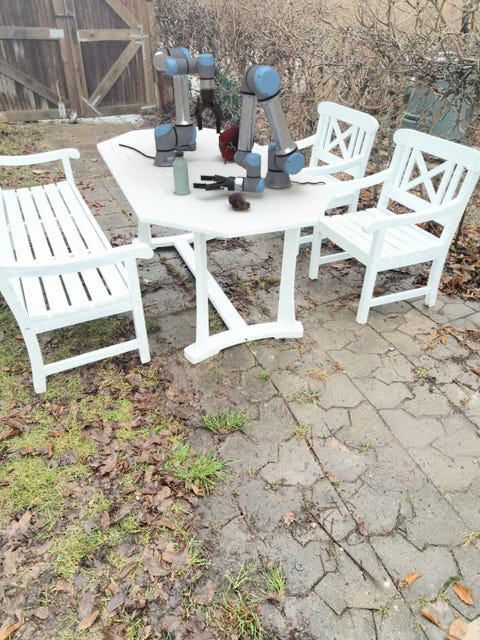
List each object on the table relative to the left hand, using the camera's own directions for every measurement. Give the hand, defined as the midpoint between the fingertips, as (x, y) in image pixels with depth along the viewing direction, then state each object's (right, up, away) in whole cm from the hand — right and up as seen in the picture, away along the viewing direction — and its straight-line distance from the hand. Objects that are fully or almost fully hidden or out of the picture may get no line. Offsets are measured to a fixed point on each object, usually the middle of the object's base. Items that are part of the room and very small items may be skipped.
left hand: (209, 131), depth 246 cm
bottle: (-15, -33, +1) cm, 36 cm away
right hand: (-6, -29, -4) cm, 30 cm away
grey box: (-24, +22, +81) cm, 87 cm away
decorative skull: (+14, +5, +57) cm, 59 cm away
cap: (-15, -15, -11) cm, 24 cm away
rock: (+16, -47, -20) cm, 54 cm away
